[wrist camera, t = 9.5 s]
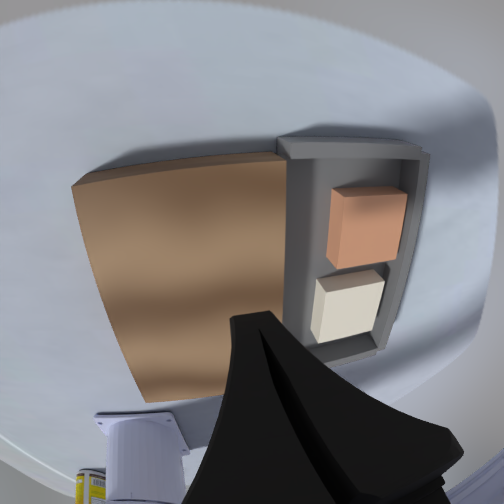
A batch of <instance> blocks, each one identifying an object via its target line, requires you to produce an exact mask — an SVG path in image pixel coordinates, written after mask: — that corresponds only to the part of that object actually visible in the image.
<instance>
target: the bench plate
mask: <svg viewBox="0 0 504 504" xmlns="http://www.w3.org/2000/svg"><path fill="white" fill-rule="evenodd" d="M71 189H72V193H73V198H74V203H75V207H76V212H77V216H78V220H79V224H80V228H81V232H82V236H83V240H84V244H85V247H86V251H87V254H88V258H89V261H90V264H91V268H92V271H93V274H94V277H95V281H96V284H97V287H98V290H99V293H100V296H101V298H102V301H103V304H104V307H105V310H106V312H107V315H108V318H109V320H110V323H111V326H112V328H113V331H114V333H115V336H116V338H117V341H118V343H119V346H120V348H121V350H122V353H123V355H124V357H125V360H126V362H127V364H128V367H129V369H130V371H131V373H132V375H133V378H134V380H135V382H136V384H137V386H138V388H139V390H140V392H141V394H142V396H143V398H144V400H145V402H146V403H151V402H164V401H175V400H185V399H194V398H202V397H209V396H217V395H223V394H224V392H225V387H226V382H227V377H228V371H229V365H230V356H231V334H230V322H229V319H230V318H231V317H232V316H234V315H241V314H248V313H255V312H261V311H268V310H270V311H271V312H272V313H273V314H274V315H275V316H276V317H277V318H278V319H279V321H280V322H281V323H282V315H283V291H284V263H285V226H286V160H285V159H283V158H281V157H280V156H278V155H277V154H275V153H273V152H254V153H238V154H225V155H214V156H203V157H194V158H185V159H176V160H168V161H160V162H153V163H146V164H139V165H133V166H126V167H120V168H114V169H109V170H103V171H98V172H92V173H87V174H85V175H84V176H83V177H82V178H81V179H79V180H78V181H77V182H76V183H75V184H74V185H73V186H71Z"/></svg>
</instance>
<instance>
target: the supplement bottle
mask: <svg viewBox="0 0 504 504" xmlns="http://www.w3.org/2000/svg"><path fill="white" fill-rule="evenodd" d="M105 501H106V474H104V473H101V472H97V471H93V470H80V471H78V472H77V476H76V504H105Z"/></svg>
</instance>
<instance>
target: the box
mask: <svg viewBox="0 0 504 504" xmlns="http://www.w3.org/2000/svg"><path fill="white" fill-rule="evenodd" d="M421 149H422V147H420V146H417V145H414V144H411V143H408V142H405V141H401V140H394V139H379V138H361V137H329V136H293V137H277V155H278V156H280V157H281V158H283V159H285V160H286V226H285V263H284V291H283V315H282V324H283V325H284V326H285V327H286V328H287V329H288V330H289V331H290V333H291V334H292V335H293V336H294V337H295V338H296V339H297V340H298V341H299V342H300V343H301V344H302V345H304V346H305V347H306V348H307V349H308V350H309V351H310V352H311V353H312V354H313V355H314V356H315V357H317V358H318V359H319V360H320V361H321V362H322V363H324V364H325V365H326V366H327V367H328V368H331V367H335V366H339V365H343V364H346V363H350V362H353V361H357V360H360V359H363V358H367V357H370V356H373V355H376V352H377V351H380V350H383V349H385V347H386V344H387V341H388V338H389V335H390V332H391V329H392V326H393V323H394V320H395V317H396V314H397V311H398V307H399V304H400V301H401V297H402V294H403V290H404V287H405V283H406V279H407V276H408V272H409V268H410V264H411V260H412V256H413V252H414V247H415V243H416V238H417V233H418V229H419V224H420V218H421V213H422V208H423V202H424V196H425V189H426V183H427V176H428V168H429V160H430V154H428V153H425V152H422V151H421ZM378 186H393V187H395V188H397V189H399V190H401V191H403V192H405V193H406V194H408V195H407V201H406V208H405V214H404V220H403V226H402V231H401V236H400V241H399V246H398V251H397V256H396V259H394V260H389V261H383V262H377V263H372V264H366V265H360V266H354V267H348V268H342V269H336V268H335V267H334V265H333V264H332V263H331V262H330V261H329V259H328V258H327V257H326V253H327V242H328V231H329V219H330V206H331V191H332V189H333V188H353V187H378ZM372 269H374V270H375V271H376V272H377V273H378V275H379V276H380V277H381V278H382V279H383V280H384V281H385V283H384V287H383V291H382V295H381V299H380V303H379V307H378V310H377V314H376V318H375V321H374V325H373V328H372V330H371V331H367V332H363V333H360V334H356V335H352V336H348V337H344V338H340V339H336V340H331V341H327V342H323V343H318V342H317V340H316V339H315V337H314V335H313V333H312V331H311V329H310V328H311V321H312V313H313V305H314V296H315V287H316V279H318V278H325V277H331V276H337V275H343V274H349V273H354V272H360V271H366V270H372Z"/></svg>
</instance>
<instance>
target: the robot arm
mask: <svg viewBox="0 0 504 504" xmlns="http://www.w3.org/2000/svg"><path fill="white" fill-rule="evenodd" d="M229 322H230V334H231V356H230V365H229V371H228V377H227V382H226V387H225V392H224V396H223V400H222V404H221V408H220V412H219V415H218V419H217V422H216V425H215V428H214V431H213V434H212V437H211V440H210V442H209V445H208V448H207V450H206V452H205V455H204V457H203V460H202V462H201V464H200V467H199V469H198V471H197V474H196V476H195V478H194V480H193V482H192V484H191V486H190V488H189V490H188V492H187V493H186V487H185V479H184V471H183V463H182V456H184V455H189V454H190V450H189V448H188V446H187V444H186V442H185V440H184V438H183V436H182V433H181V431H180V429H179V427H178V425H177V422H176V420H175V418H174V416H173V414H172V413H170V412H163V413H148V414H128V415H95V416H94V417H93V420H94V421H95V423H96V424H97V425H98V427H99V428H100V429H101V430H102V432H103V433H104V434H105V435H106V437H107V455H106V501H105V504H504V448H503V449H502V450H501V451H500V452H499V453H498V454H497V455H495V456H494V457H493V458H492V459H491V460H489V461H488V462H487V463H486V464H484V465H483V466H482V467H481V468H479V469H478V470H477V471H475V472H474V473H473V474H472V475H470V476H469V477H467V478H466V479H465V480H463V481H462V482H460V483H459V484H458V485H456V486H455V487H453V488H452V489H450V490H449V491H447V492H446V493H445V492H444V490H443V488H442V486H443V485H444V484H445V481H444V479H443V477H442V476H441V475H442V474H443V473H444V472H446V471H447V470H448V469H449V468H450V467H452V466H453V465H454V464H455V463H456V462H457V461H458V460H459V459H460V458H461V457H462V456H463V454H464V451H463V449H462V447H461V446H460V444H459V442H458V441H457V439H456V438H455V436H454V435H453V434H452V432H451V431H450V430H449V429H448V428H445V427H442V426H439V425H436V424H432V423H429V422H426V421H423V420H420V419H417V418H415V417H412V416H410V415H407V414H405V413H403V412H400V411H398V410H396V409H394V408H392V407H390V406H388V405H386V404H384V403H382V402H380V401H378V400H376V399H374V398H373V397H371V396H369V395H367V394H366V393H364V392H362V391H361V390H359V389H358V388H356V387H355V386H353V385H352V384H350V383H349V382H347V381H346V380H344V379H343V378H341V377H340V376H339V375H337V374H336V373H335V372H334V371H332V370H331V369H330V368H328V367H327V366H326V365H325V364H324V363H322V362H321V361H320V360H319V359H318V358H317V357H315V356H314V355H313V354H312V353H311V352H310V351H309V350H308V349H307V348H306V347H305V346H304V345H302V344H301V343H300V342H299V341H298V340H297V339H296V338H295V337H294V336H293V335H292V334H291V333H290V331H289V330H288V329H287V328H286V327H285V326H284V325H283V324H282V323H281V322H280V321H279V319H278V318H277V317H276V316H275V315H274V314H273V313H272V312H271V311H270V310H268V311H261V312H255V313H248V314H241V315H234V316H232V317H231V318H230V319H229Z"/></svg>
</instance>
